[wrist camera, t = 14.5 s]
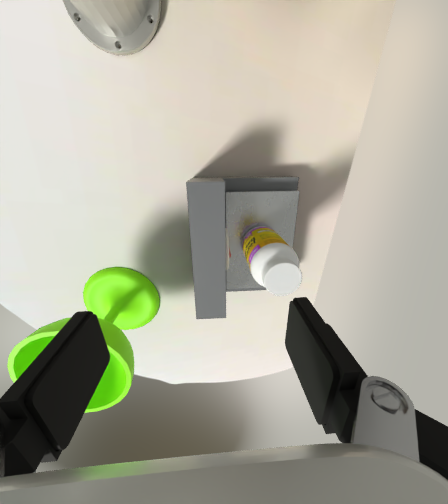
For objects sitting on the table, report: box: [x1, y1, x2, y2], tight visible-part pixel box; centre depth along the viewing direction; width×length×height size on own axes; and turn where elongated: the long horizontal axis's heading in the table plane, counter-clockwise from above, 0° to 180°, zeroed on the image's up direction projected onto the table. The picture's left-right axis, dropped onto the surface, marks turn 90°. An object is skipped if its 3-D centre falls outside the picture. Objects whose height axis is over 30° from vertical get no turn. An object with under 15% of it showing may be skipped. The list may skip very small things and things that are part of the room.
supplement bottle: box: [242, 226, 302, 296], centre depth 31 cm, size 7×7×13 cm
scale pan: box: [225, 190, 299, 289], centre depth 38 cm, size 18×12×1 cm, turn 1°
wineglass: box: [7, 267, 160, 413], centre depth 37 cm, size 16×16×18 cm
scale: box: [186, 176, 299, 319], centre depth 37 cm, size 22×18×11 cm
